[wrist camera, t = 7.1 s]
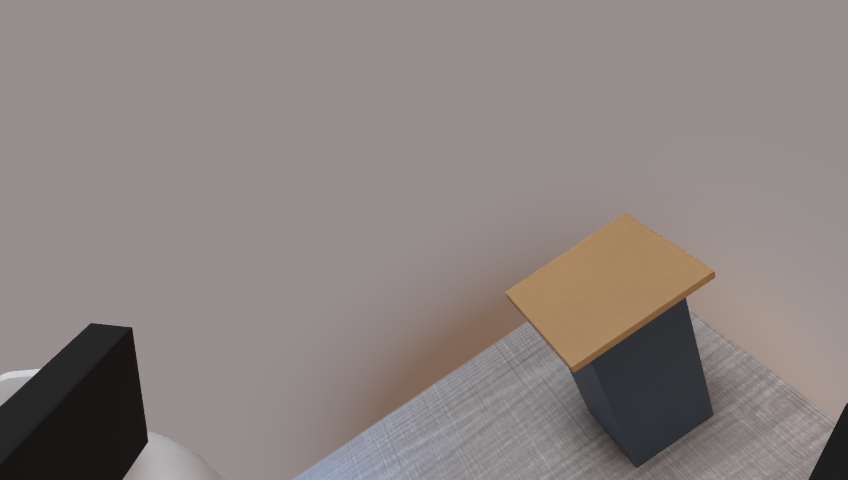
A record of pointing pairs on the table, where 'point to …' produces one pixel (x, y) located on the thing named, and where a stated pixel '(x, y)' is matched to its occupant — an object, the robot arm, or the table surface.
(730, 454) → the table surface
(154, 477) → the vase
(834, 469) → the robot arm
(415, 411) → the table surface
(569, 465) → the table surface
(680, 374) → the stand
